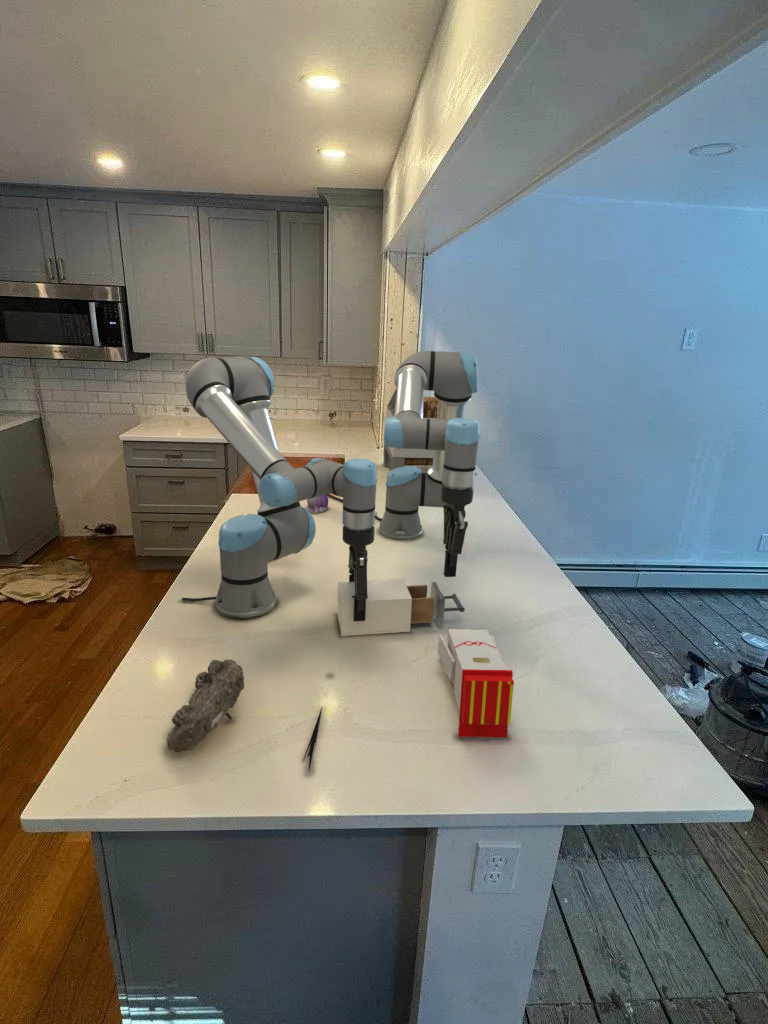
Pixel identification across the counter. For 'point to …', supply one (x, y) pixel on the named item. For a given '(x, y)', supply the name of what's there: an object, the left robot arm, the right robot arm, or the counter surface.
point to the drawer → (430, 604)
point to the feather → (313, 740)
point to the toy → (478, 682)
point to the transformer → (410, 456)
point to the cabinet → (376, 608)
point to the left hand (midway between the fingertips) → (356, 608)
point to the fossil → (206, 705)
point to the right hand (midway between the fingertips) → (449, 575)
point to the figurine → (317, 503)
